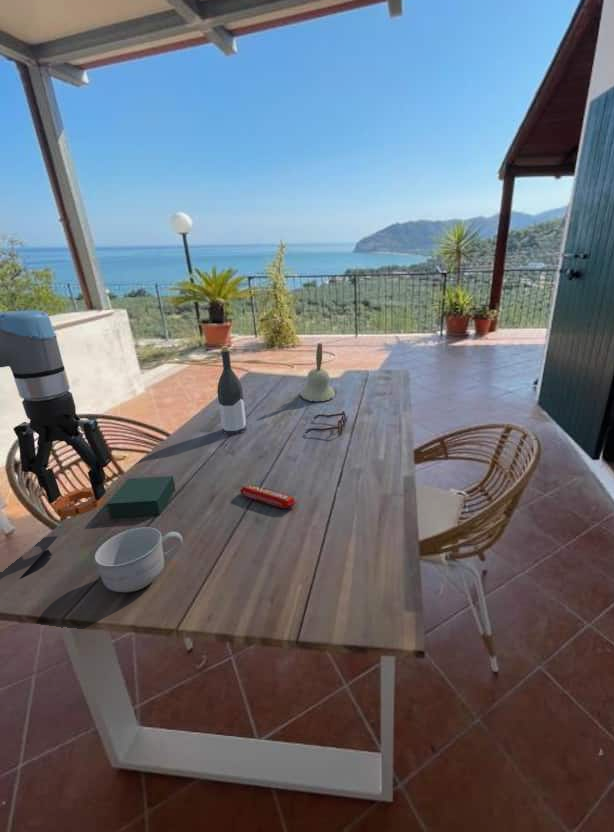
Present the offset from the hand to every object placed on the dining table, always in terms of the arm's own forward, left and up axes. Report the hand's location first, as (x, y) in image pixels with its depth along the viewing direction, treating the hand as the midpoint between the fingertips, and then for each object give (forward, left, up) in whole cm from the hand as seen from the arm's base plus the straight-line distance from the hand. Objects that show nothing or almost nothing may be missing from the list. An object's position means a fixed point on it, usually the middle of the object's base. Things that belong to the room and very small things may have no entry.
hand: (78, 497), depth 81 cm
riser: (+7, +12, -10) cm, 17 cm away
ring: (0, 0, -2) cm, 2 cm away
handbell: (+50, +86, -10) cm, 100 cm away
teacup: (+17, -13, -10) cm, 24 cm away
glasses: (+53, +52, -10) cm, 75 cm away
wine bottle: (+21, +54, -10) cm, 59 cm away
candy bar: (+37, +9, -10) cm, 39 cm away
